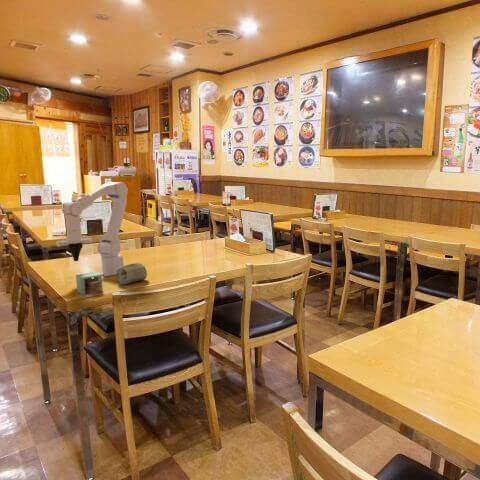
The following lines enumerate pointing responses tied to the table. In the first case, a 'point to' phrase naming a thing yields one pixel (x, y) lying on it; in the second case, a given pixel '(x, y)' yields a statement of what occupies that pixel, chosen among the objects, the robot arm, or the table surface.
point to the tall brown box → (92, 286)
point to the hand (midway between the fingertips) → (76, 260)
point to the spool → (131, 273)
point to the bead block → (81, 278)
